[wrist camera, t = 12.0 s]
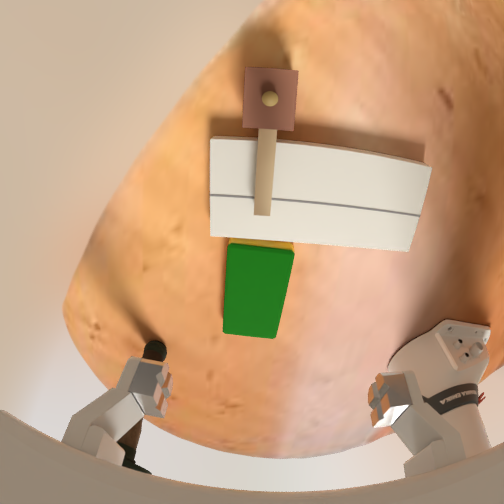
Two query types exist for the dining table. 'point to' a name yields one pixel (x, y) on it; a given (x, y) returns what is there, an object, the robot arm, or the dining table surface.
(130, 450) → the potato masher grenade
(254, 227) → the board
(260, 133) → the block
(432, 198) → the dining table surface
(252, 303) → the dish sponge
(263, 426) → the dining table surface
